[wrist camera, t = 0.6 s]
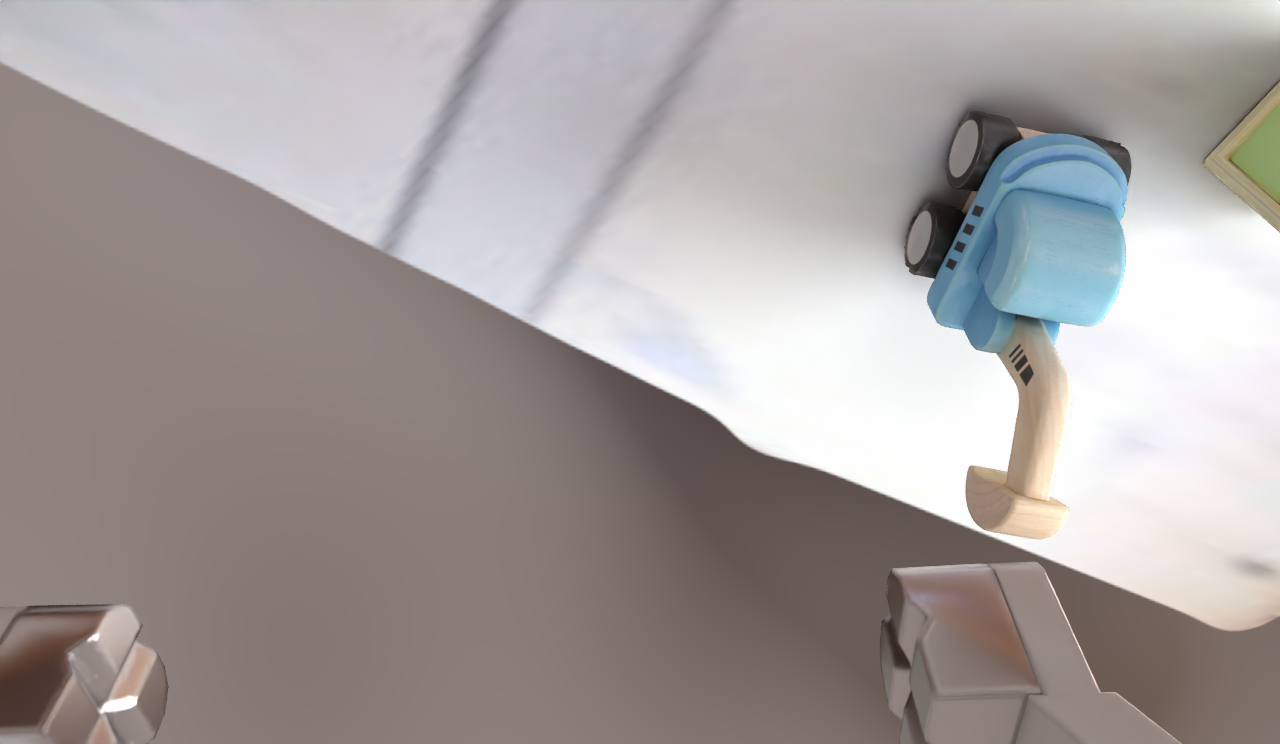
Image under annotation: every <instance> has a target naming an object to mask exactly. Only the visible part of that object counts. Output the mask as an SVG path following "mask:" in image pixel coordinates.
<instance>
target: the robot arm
mask: <svg viewBox="0 0 1280 744" xmlns="http://www.w3.org/2000/svg"><path fill="white" fill-rule="evenodd" d="M886 596H887V600H888V604H889V608H890V611H891V613H890V614H889V615H888V616H887V617H886V618H885V619H884V620H883V621H882V626H881V636H880V659H881V671H882V677H883V684H884V689H885V694H886V698H887V702H888V706H889V709H890V710H891V711H892V712H893V713H894V714H895V715H896V716H897V717H898V718H899V719H900V720H902V725H901V731H900V738H899V744H1181V743H1180V742H1179V741H1178V740H1176V739H1175V738H1174V737H1172V736H1171V735H1170V734H1169V733H1167V732H1166V731H1165V730H1163V729H1162V728H1161V727H1160V726H1158V725H1157V724H1156V723H1154V722H1153V721H1152V720H1151V719H1149V718H1148V717H1147V716H1145V715H1144V714H1143V713H1142V712H1140V711H1139V710H1138V709H1136V708H1135V707H1134V706H1133V705H1131V704H1130V703H1129V702H1127V701H1126V700H1125V699H1124V698H1122V697H1121V696H1120V695H1118V694H1117V693H1116V692H1114V693H1113V692H1100V690H1099V688H1098V686H1097V683H1096V681H1095V679H1094V677H1093V675H1092V672H1091V670H1090V668H1089V666H1088V664H1087V661H1086V659H1085V657H1084V655H1083V653H1082V650H1081V648H1080V646H1079V644H1078V642H1077V640H1076V637H1075V635H1074V633H1073V631H1072V629H1071V626H1070V624H1069V622H1068V620H1067V618H1066V615H1065V613H1064V611H1063V609H1062V607H1061V605H1060V602H1059V600H1058V598H1057V596H1056V594H1055V591H1054V589H1053V587H1052V585H1051V583H1050V580H1049V578H1048V576H1047V574H1046V572H1045V569H1044V568H1043V567H1042V566H1040V565H1039V564H1038V563H1037V562H1019V563H999V564H988V565H985V564H969V565H950V566H932V567H914V568H896V569H892V570H891V572H890V574H889V576H888V581H887V588H886ZM141 628H142V623H141V621H140V620H139V618H138V617H137V615H136V613H135V612H134V610H133V609H132V607H131V606H130V605H120V604H103V605H53V606H52V605H50V606H49V605H48V606H25V607H24V606H20V607H0V744H149V743H150V742H151V741H152V740H153V739H154V738H155V737H156V734H157V732H158V729H159V727H160V724H161V722H162V719H163V717H164V715H165V709H166V701H167V693H168V682H167V676H166V671H165V666H164V665H163V662H162V661H161V658H160V656H159V655H158V653H157V652H156V651H155V650H153V649H151V648H150V647H148V646H147V645H145V644H143V643H142V642H140V641H138V640H137V639H136V638H137V636H138V634H139V632H140V630H141Z"/></svg>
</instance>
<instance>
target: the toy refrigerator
mask: <svg viewBox="0 0 1280 744" xmlns="http://www.w3.org/2000/svg"><path fill="white" fill-rule="evenodd" d="M1204 165H1205V167H1206V168H1207V169H1208V170H1209V171H1210V172H1211V173H1212V174H1213V175H1215V176H1216V177H1217V178H1218V179H1219V180H1220V181H1221V182H1223V183H1224V184H1225V185H1226V186H1227V187H1228V188H1230V189H1231V190H1232V191H1233V192H1234V193H1235V194H1237V195H1238V196H1239V197H1240V198H1241V199H1242V200H1243V201H1245V202H1246V203H1247V204H1248V205H1249V206H1250V207H1251V208H1253V209H1254V210H1255V211H1256V212H1257V213H1258V214H1259V215H1260V216H1262V217H1263V218H1264V219H1265V220H1266V221H1267V222H1268V223H1270V224H1271V225H1272V226H1273V227H1274V228H1275V229H1276V230H1278V231H1279V232H1280V81H1279V82H1278V84H1277V85H1276V86H1275V87H1274V88H1273V89H1272V90H1271V91H1270V92H1269V93H1268V94H1267V95H1266V96H1265V97H1264V98H1263V99H1262V100H1261V102H1260V103H1259V104H1258V105H1257V106H1256V107H1255V108H1254V109H1253V110H1252V111H1251V112H1250V113H1249V114H1248V115H1247V116H1246V117H1245V118H1244V119H1243V121H1242V122H1241V123H1240V124H1239V125H1238V126H1237V127H1236V128H1235V129H1234V130H1233V131H1232V132H1231V133H1230V134H1229V135H1228V136H1227V137H1226V138H1225V139H1224V140H1223V141H1222V142H1221V143H1220V144H1219V145H1218V146H1217V148H1216V149H1215V150H1214V151H1213V152H1212V153H1211V154H1210V155H1209V156H1208V157H1207V158H1206V160H1205V162H1204Z"/></svg>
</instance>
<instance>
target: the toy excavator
mask: <svg viewBox="0 0 1280 744" xmlns="http://www.w3.org/2000/svg"><path fill="white" fill-rule="evenodd" d="M1120 145H1121V144H1120V143H1117V142H1113V141H1108V140H1104V139H1100V138H1096V137H1091V136H1087V135H1086V136H1085V135H1082V136H1080V137H1079V136H1075V135H1070V134H1049V133H1044V132H1040V131H1035V130H1031V129H1026V128H1021V127H1016V125H1015V124H1014V123H1013V122H1012V121H1011V120H1010V119H1008V118H1006V117H1001V116H998V115H991V114H986V113H981V112H971V113H970V114H968V115H967V116H966V117H964V119H963V120H962V122H961V123H960V124H959V129H958V132H957V134H956V137H955V139H954V142H953V145H952V148H951V152H950V155H948V160H947V167H946V170H947V179H948V181H949V184H950V185H951V186H952V187H953V188H954V189H959V190H969V191H972V192H971V194H970V196H969V198H968V200H967V202H966V204H965V206H964V208H963V210H962V211H961V210H960V209H959V208H953V207H949V206H945V205H940V204H936V203H932V202H928V203H927V204H925V205H924V206H922V207H921V208H920V209H919V211H921V212H920V214H919V216H918V217H917V219H916V220H915V217H914V218H913V219H912V222H911V223H910V227H909V229H908V230H909V232H908V234H907V236H906V244H905V247H904V248H905V261H906V263H905V264H906V266H907V267H909V268H910V269H909V272H910V273H912V274H913V275H920V276H924V277H929V278H934V279H935V280H934V282H933V284H932V285H931V288H930V290H929V292H928V295H927V303H928V305H929V307H930V309H931V311H932V314H933V316H934V318H935V319H936V321H937V323H938V324H940V325H941V326H944V327H949V328H955V329H960V330H964V331H965V333H966V335H967V337H968V339H969V341H970V343H971V345H972V346H973V347H974V348H975V349H976V350H979V351H985V352H990V353H996V354H997V355H998V356H999V358H1000V359H1001V361H1002V362H1003V364H1004V365H1005V367H1006V369H1007V370H1008V372H1009V374H1010V375H1011V377H1012V378H1013V380H1014V382H1015V383H1016V385H1017V388H1018V392H1019V409H1018V414H1017V420H1016V426H1015V432H1014V438H1013V444H1012V450H1011V455H1010V461H1009V466H1008V472H1005V471H1000V470H995V469H989V468H984V467H978V466H969V469H968V472H967V478H966V501H967V507H968V510H969V512H970V515H971V517H972V518H973V520H974V521H975V523H976V524H977V525H978V526H979V527H981V528H982V529H984V530H986V531H991V532H995V533H1001V534H1007V535H1013V536H1019V537H1025V538H1031V539H1039V540H1041V539H1046V538H1049V537H1051V536H1053V535H1055V534H1056V533H1057V532H1058V531H1059V530H1060V529H1061V528H1062V527H1063V525H1064V524H1065V522H1066V520H1067V518H1068V515H1069V511H1070V510H1069V508H1068V507H1067V506H1066V505H1064V504H1062V503H1061V502H1059V501H1057V500H1055V499H1053V498H1052V497H1050V492H1051V488H1052V484H1053V480H1054V477H1055V473H1056V469H1057V465H1058V461H1059V457H1060V453H1061V449H1062V445H1063V441H1064V437H1065V433H1066V428H1067V424H1068V420H1069V413H1070V407H1071V387H1070V381H1069V378H1068V375H1067V373H1066V370H1065V368H1064V366H1063V364H1062V362H1061V360H1060V358H1059V356H1058V354H1057V351H1056V349H1055V347H1054V344H1055V342H1056V339H1057V336H1058V332H1059V326H1060V323H1066V324H1072V325H1078V326H1094V325H1096V324H1098V323H1099V322H1101V321H1102V320H1103V319H1104V318H1105V316H1106V315H1107V314H1108V312H1109V310H1110V308H1111V306H1112V304H1113V303H1114V301H1115V300H1116V298H1117V295H1118V293H1119V291H1120V288H1121V284H1122V281H1123V277H1124V271H1125V264H1126V245H1125V238H1124V233H1123V229H1122V226H1121V224H1120V220H1121V218H1122V217H1123V215H1124V212H1125V207H1124V204H1125V202H1126V197H1127V186H1128V182H1129V178H1130V173H1131V158H1130V154H1129V152H1128V150H1127V149H1126V148H1125V147H1122V146H1120Z"/></svg>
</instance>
